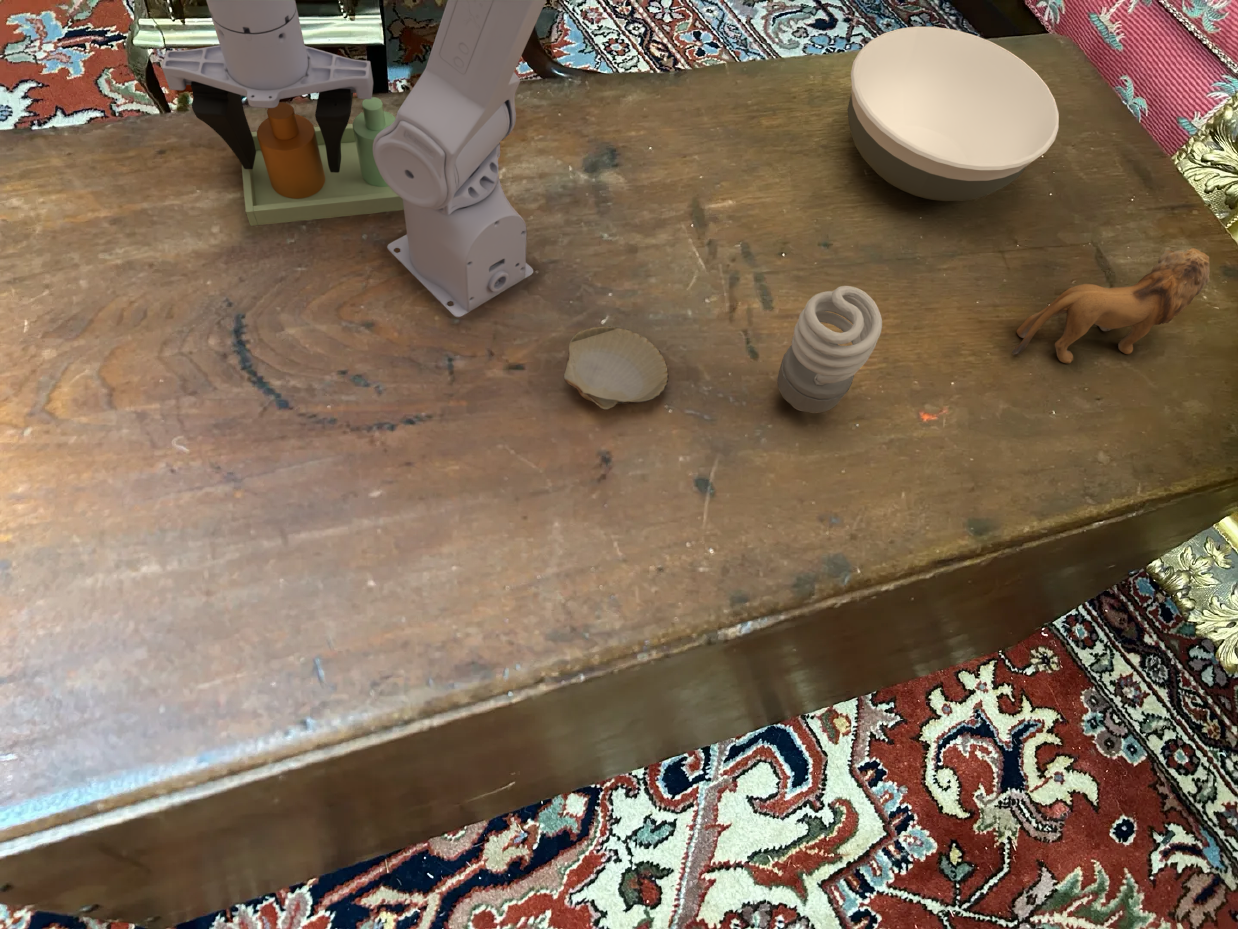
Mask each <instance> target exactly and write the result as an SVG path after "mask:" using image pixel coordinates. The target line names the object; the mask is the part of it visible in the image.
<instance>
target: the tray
mask: <svg viewBox="0 0 1238 929" xmlns="http://www.w3.org/2000/svg"><path fill="white" fill-rule="evenodd" d="M314 129H315V134H316V138H317V143H318V147H319V152H320V156H321V161H322V165H323V170H324V174H325V183H324V185H323V187H322V188H321V189H320V191H318V192H317V193H316V194H314V195H312V196H309V197H306V198H299V199H294V198H287V197H284V196H282V195H280V194H278V193H277V192H276V191H275V190H274V189H273V187H272V185H271V182H270V179H269V175H268V172H267V169H266V165H265V162H264V158H263V155H262V151H261V148H260V145H259V141H258V138H257V131H251V134H252V137H253V140H254V144H255V149H256V155H255V161H254V166H253V169H244V167H243V166H242V165H241V174H242V186H243V197H244V208H245V209H244V210H245V214H246V217H247V221H248V223H249V226H250V227H254V226H264V225H273V224H282V223H283V224H285V223H292V222H302V221H311V220H320V219H329V218H340V217H350V216H359V215H368V214H379V213H387V212H397V211H398V212H399V211H404V207H403V199H402V198H401V197H400V196H398V195H397V194H396V193H395V192H394V191H393V190H392V189H391V188H390V187H389V186H388V187H377V186H373V185H371V184H369V183H367V182H366V181H365V180H364V179H363V177H362V175H361V170H360V165H359V159H358V154H357V148H356V142H355V137H354V131H353V123H348V124H347V126H346V128H345V131H344V133H343V136H342V139H341V164H340V172H338V173H334V172H330V169H329V166H328V160H327V153H326V146H325V142H324V139H323V136H322V133H321V130H320V127H319V125H317V126H314Z"/></svg>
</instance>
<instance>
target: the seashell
mask: <svg viewBox="0 0 1238 929" xmlns="http://www.w3.org/2000/svg"><path fill="white" fill-rule="evenodd" d="M567 354H568V360H567V363H566V366H565V367H566V369H565V370H564V374H563V379H564V381H565V383H567V385H568V386H569V385H570V386H572V387H573V388H575V389H576V390H577V392H578V394H579V395H580V396H581V397H582V398H584V399H585V400H587V401H590V402H593V403H595V404H596V405H597V406H598V407H599V408H600V409H601V410H606V411H608V410H610V409H613V408H615V406H616V405H621V404H635V403H637V404H638V403H645V402H649V401H652V400H654V399H655V398H656V397H659V396H660V395H661V394H662V392H664V390H665V389H666V387H667V384H668V382H669V370H668V366H667V365H668V364H667V362H666V359H665V358H664V356H663V355H662V353H661V350H659V348H657V347H656V346H655V345H654V343H652V341H649V340H648V338H646V337H645V336H642V335H641V334H639V333H638V332H633V331H631V330H630V329H623V328H621V327H616V326H615V327H614V326H611V325H608V326H607V325H606V326H603V325H602V326H601V325H600V326H593V327H590V328H586V329H583V330H581V331H578V332H577V333H575V334H574V335H573V337H572V339H571V340H570V342H569V343H568V353H567Z"/></svg>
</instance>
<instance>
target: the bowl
mask: <svg viewBox="0 0 1238 929" xmlns="http://www.w3.org/2000/svg"><path fill="white" fill-rule="evenodd" d="M850 81H851V92H850V95H849V100H848V104H847V110H846V111H847V120H848V125H849V130H850V135H851V138H852V140H853V144H854V145H855V148H856V149H857V151H858V153H859V154H860V156H861V157H862V159H863V160H864V161H865V162H866V164H868V165H869V167H870V168H871V169H872V170H873V171H874V172H875V173H876V174H877V175H878V176H879V177H880V178H881V179H883V180H884V181H886V182H887V183H888V184H890V185H891V186H893V187H895V188H897V189H899V190H901V191H903V192H905V193H907V194H910V195H912V196H914V197H918V198H923V199H926V200H932V201H942V202H955V201H956V202H958V201H970V200H976V199H981V198H983V197H986V196H988V195H991V194H993V193H995V192H997V191H999V190H1001V189H1003V188H1005V187H1008V186H1009V185H1010V184H1011V183H1013V182H1014V181H1016V180H1017V179H1018V178H1020V176H1021V175H1022V173H1023V172H1024V171H1025V170H1026V168H1027V167H1028V166H1029V165H1030V164H1031V163H1032V162H1034V161H1036V160H1037V159H1038V158H1040V157H1041V156H1042V155H1043V154H1046V153H1047V152H1048V150H1050V147H1051V146H1052V145H1053V144H1054V142H1056V141H1055V140H1056V138H1057V135H1058V132H1059V118H1060V117H1059V116H1060V115H1059V114H1060V112H1059V109H1058V105H1057V102H1056V99H1055V97H1054V95H1053V94H1052V91H1051V90H1050V88H1049V86H1048V85H1047V84H1046V82H1045V81H1044V80H1043V79H1042V77H1041V76H1040V75H1039V73H1037V72H1036V70H1034V69H1033V68H1032V67H1031V66H1030V65H1028V63H1026V62H1025V61H1024V60H1023V59H1021V58H1020V57H1018V56H1017V55H1016V54H1014V53H1012V52H1011V51H1009V50H1008V49H1006V48H1004V47H1002V46H1000V45H998V44H997V43H994V42H992V41H990V40H988V39H985V38H982V37H980V36H977V35H975V34H973V33H968V32H965V31H961V30H957V29H952V28H945V27H939V26H909V27H902V28H897V29H893V30H891V31H887V32H884V33H882V34H880V35H878V36H876V37H875V38H873V39H871V40H869V42H868V43H866V44H865V45H864V46H863V47H862V48H861V49H860V50H859V51H858V53H857V55H856V56H855V58H854V60H853V62H852V67H851V71H850Z"/></svg>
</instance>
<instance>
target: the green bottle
mask: <svg viewBox="0 0 1238 929" xmlns="http://www.w3.org/2000/svg"><path fill="white" fill-rule="evenodd" d="M361 107H362V108H361V109H362V112H360V113H359V114H357V115H356V116H355V118H354V119H353V120H352V124H353V131H354V137H355V142H356V148H357V154H358V159H359V165H360V170H361V175H362V177H363V179H364V180H365V181H366V182H367V183H369V184H371V185H373V186H377V187H388V185H387V183H386V182H385V181H384V179H383V178H382V176H381V174H380V172H379V170H378V168H377V165H376V163H375V160H374V156H373V142H374V139H375V137H376V136H377V134H378V133H379V132H380V131H382V130H383V129H385V128H386V127H388V126H390V125H391V124H392V123H393V122H394V121H395V118H396V116H395V115H394V114H392V113H390V112H389V111H386V110H385V109H384V103H383V101H382V100H381V99H380V98H379V97H374V96H372V99H362V102H361Z"/></svg>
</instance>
